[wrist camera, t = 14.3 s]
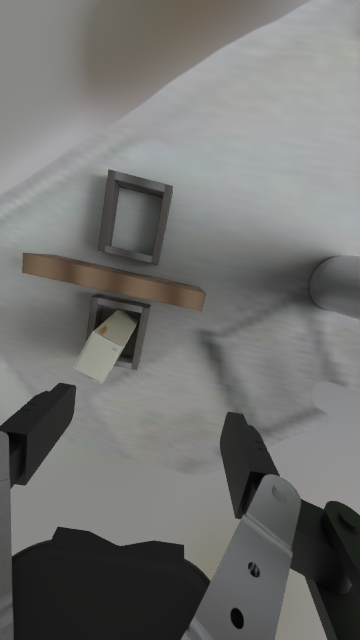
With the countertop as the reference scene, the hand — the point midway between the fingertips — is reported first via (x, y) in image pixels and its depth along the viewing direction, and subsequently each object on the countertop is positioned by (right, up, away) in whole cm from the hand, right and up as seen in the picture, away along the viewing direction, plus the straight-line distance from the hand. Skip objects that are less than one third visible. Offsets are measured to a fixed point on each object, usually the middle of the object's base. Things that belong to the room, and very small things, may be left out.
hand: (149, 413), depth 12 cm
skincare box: (-9, +3, +28) cm, 30 cm away
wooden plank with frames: (-7, +12, +26) cm, 29 cm away
